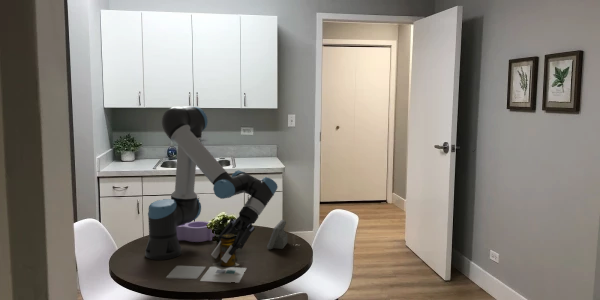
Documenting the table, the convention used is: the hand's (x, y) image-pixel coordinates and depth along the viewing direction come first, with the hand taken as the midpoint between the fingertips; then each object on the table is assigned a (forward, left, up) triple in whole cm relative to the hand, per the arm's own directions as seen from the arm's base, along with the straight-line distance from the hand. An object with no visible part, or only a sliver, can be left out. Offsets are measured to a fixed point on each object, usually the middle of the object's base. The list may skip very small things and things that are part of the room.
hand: (218, 258), depth 183 cm
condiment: (+2, +3, -4) cm, 5 cm away
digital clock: (+18, +39, -7) cm, 43 cm away
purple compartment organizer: (-25, +45, -7) cm, 52 cm away
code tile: (+2, 0, -6) cm, 7 cm away
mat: (-13, 0, -6) cm, 14 cm away
